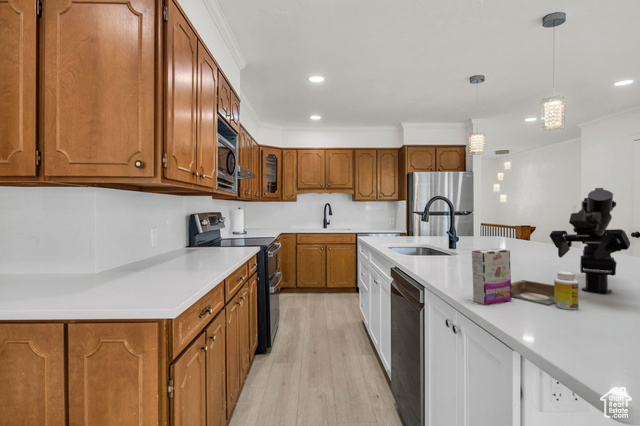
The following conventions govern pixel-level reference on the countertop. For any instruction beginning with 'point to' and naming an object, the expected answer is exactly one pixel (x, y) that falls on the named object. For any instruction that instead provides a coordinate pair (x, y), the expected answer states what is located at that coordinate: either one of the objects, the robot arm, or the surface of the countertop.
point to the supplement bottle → (566, 291)
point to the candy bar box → (491, 276)
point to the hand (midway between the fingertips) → (576, 257)
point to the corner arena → (533, 292)
